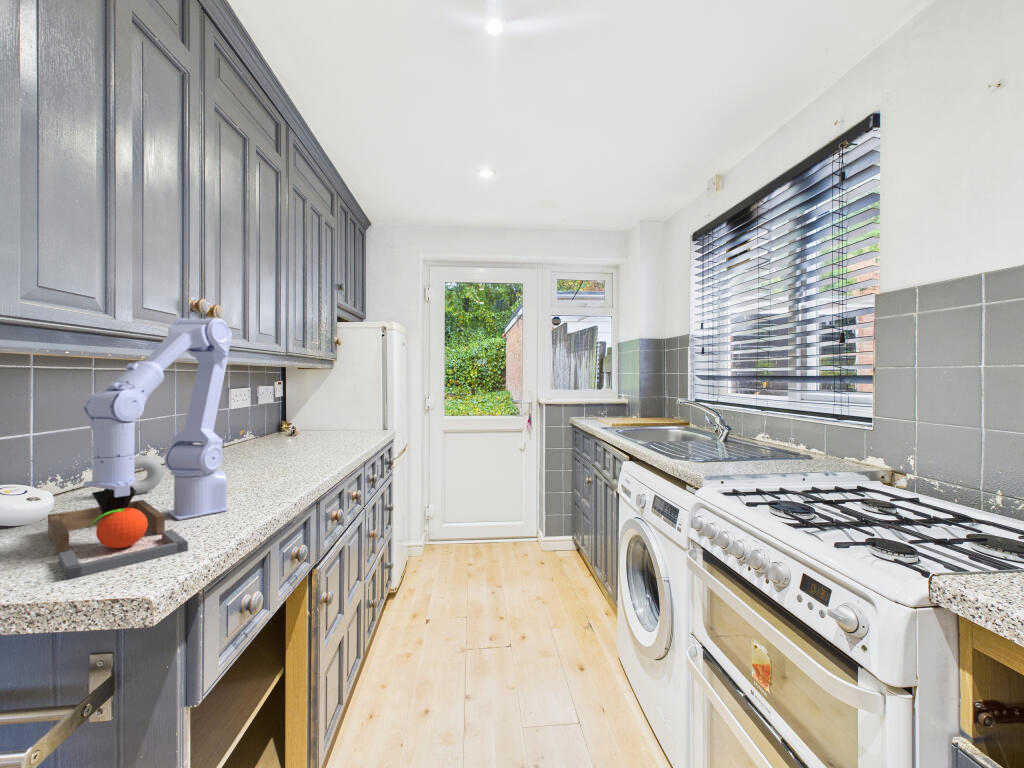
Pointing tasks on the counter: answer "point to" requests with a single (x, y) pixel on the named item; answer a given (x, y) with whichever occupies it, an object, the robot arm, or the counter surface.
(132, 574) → the counter surface
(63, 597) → the counter surface
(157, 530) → the brown wooden frame
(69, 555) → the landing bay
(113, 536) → the clementine
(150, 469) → the donut
